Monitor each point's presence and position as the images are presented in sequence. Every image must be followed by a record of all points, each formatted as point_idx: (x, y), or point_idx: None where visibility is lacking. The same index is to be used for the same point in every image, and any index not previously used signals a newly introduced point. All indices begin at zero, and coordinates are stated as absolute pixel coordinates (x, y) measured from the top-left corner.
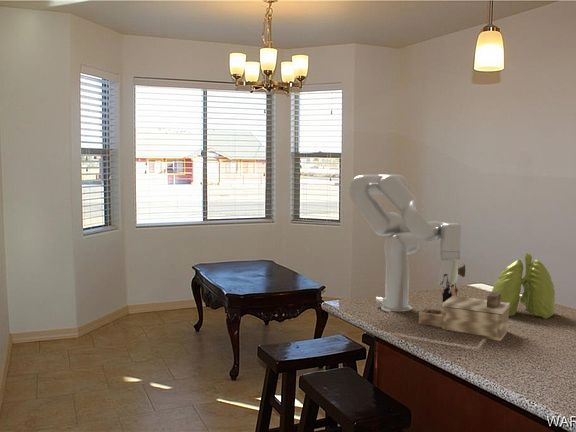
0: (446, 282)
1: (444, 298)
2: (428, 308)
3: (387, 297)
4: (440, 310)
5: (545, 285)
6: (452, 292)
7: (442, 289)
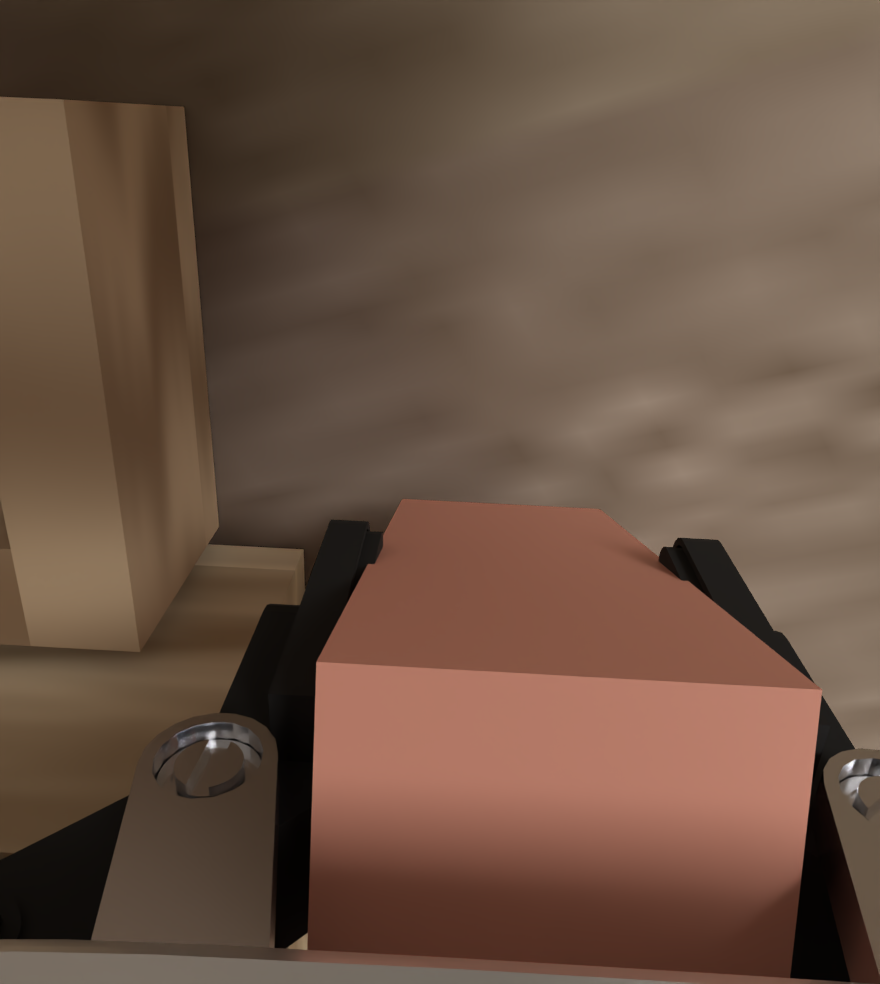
0: None
1: (251, 642)
2: (32, 176)
3: None
4: (57, 484)
5: None
6: None
7: (374, 727)
